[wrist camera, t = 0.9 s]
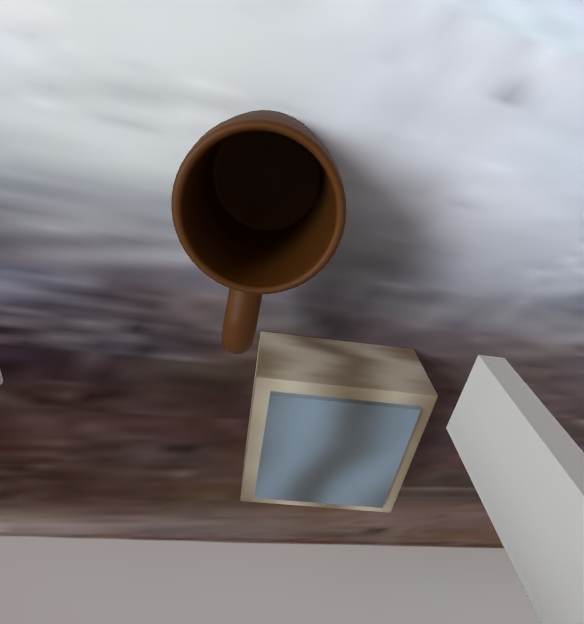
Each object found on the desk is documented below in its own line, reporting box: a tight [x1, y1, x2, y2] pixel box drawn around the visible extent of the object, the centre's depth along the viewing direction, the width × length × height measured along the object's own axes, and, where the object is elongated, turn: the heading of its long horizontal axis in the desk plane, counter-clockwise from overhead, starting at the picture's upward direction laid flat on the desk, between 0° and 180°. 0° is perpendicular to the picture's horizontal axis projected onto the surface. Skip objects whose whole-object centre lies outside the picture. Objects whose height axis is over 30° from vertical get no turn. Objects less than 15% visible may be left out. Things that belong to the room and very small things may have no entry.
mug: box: [172, 110, 346, 354], centre depth 22 cm, size 12×8×9 cm, turn 168°
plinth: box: [240, 331, 438, 513], centre depth 31 cm, size 12×12×6 cm
